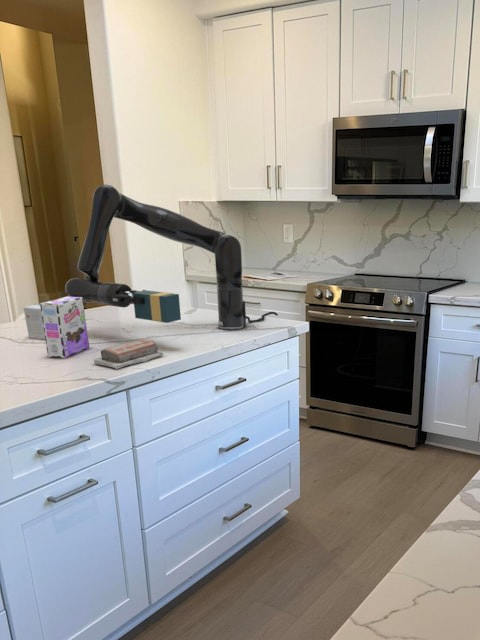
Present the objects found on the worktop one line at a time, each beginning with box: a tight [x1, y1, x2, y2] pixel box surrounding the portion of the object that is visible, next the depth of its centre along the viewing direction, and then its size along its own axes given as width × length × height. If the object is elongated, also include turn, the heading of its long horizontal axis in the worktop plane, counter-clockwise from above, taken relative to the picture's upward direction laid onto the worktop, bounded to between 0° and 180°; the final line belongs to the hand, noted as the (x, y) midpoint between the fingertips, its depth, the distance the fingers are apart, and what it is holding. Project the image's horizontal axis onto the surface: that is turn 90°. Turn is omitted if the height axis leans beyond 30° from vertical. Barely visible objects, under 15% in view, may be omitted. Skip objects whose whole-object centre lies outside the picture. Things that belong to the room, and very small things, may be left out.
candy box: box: [39, 296, 90, 359], centre depth 186 cm, size 14×6×16 cm, turn 168°
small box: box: [23, 304, 46, 341], centre depth 206 cm, size 8×6×10 cm
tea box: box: [133, 289, 182, 324], centre depth 192 cm, size 14×6×8 cm, turn 59°
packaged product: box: [93, 339, 164, 370], centre depth 180 cm, size 18×5×10 cm
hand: (151, 299), depth 192 cm, fingers closed on tea box, 6 cm apart
